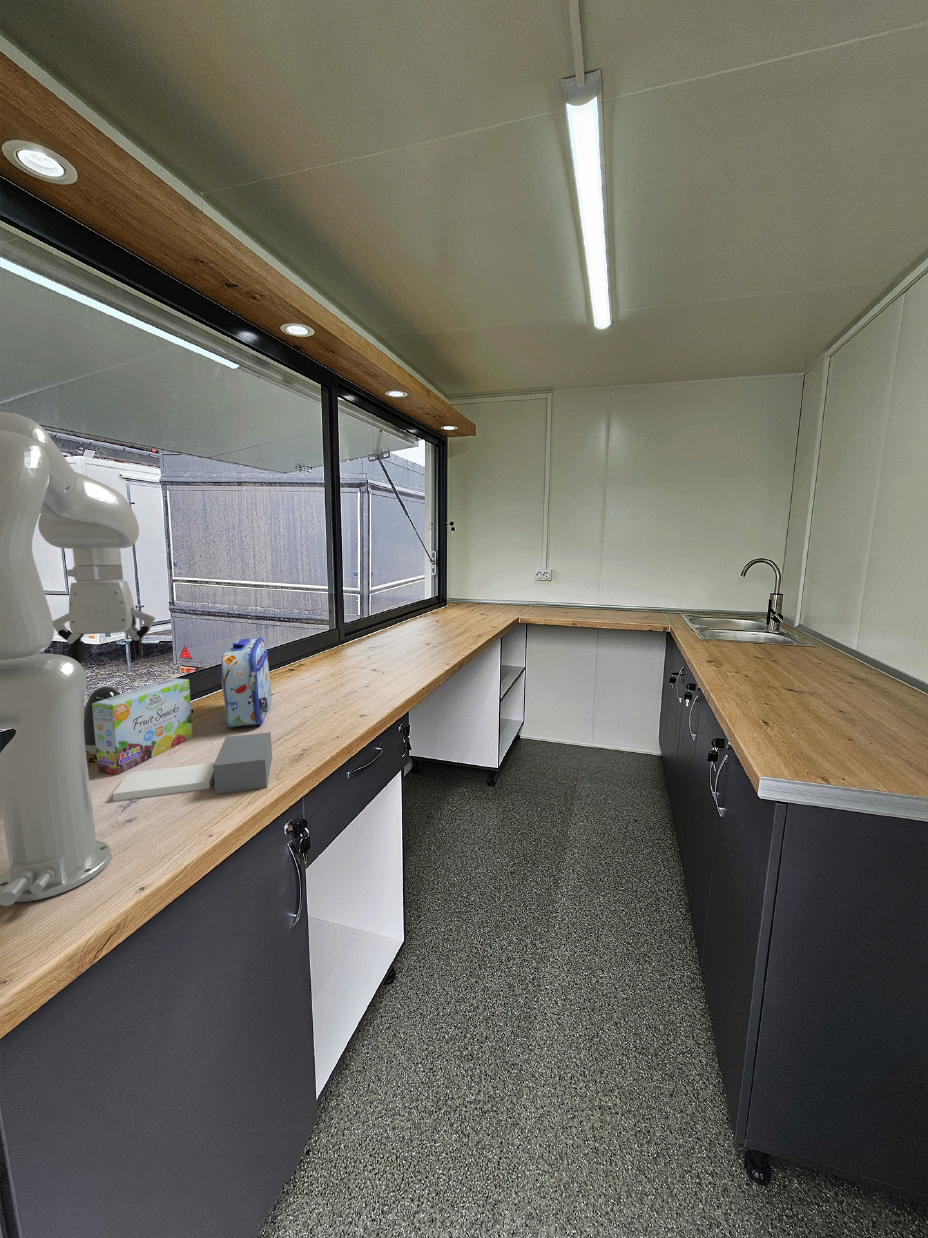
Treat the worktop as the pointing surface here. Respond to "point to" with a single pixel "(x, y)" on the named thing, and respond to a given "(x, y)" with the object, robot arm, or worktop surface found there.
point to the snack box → (141, 724)
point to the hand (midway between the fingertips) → (108, 660)
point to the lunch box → (246, 682)
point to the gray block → (243, 763)
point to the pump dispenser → (88, 715)
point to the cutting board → (165, 781)
